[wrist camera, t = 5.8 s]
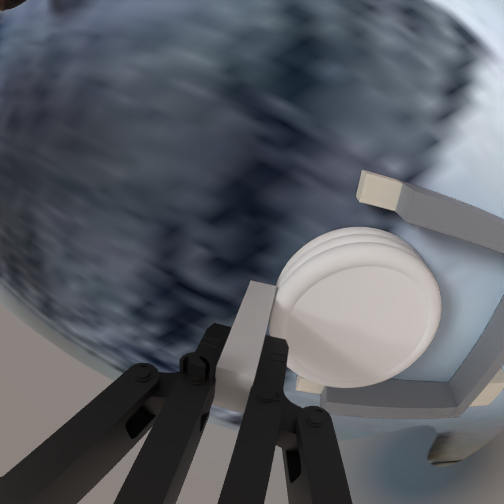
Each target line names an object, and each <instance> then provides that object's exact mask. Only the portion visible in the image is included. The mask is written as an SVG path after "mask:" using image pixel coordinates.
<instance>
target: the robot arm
mask: <svg viewBox="0 0 504 504" xmlns="http://www.w3.org/2000/svg"><path fill="white" fill-rule="evenodd" d="M276 287H277V286H274V285H269V284H265V283H260V282H256V281H250V284H249V286H248V289H247V291H246V294H245V296H244V299H243V301H242V304H241V306H240V309H239V311H238V314H237V316H236V319H235V321H234V324H233V326H232V327H228V326H224V325H220V324H216V323H214V324H213V325H211V326H210V327H209V328H207V330H206V332H205V334H204V336H203V338H202V340H201V342H200V344H199V346H198V348H197V350H196V352H193V353H188V354H186V355H183V356H182V357H181V359H180V372H176V373H165V372H158V370H157V368H155V367H154V366H153V365H151V364H148V363H138V364H135V365H133V366H132V367H130V368H129V369H128V370H127V371H126V372H124V373H123V374H122V375H121V376H120V377H119V378H118V379H116V380H115V381H114V382H113V383H112V384H111V385H110V386H108V387H107V388H106V389H105V390H104V391H102V392H101V393H100V394H99V395H98V396H97V397H96V398H94V399H93V400H92V401H91V402H90V403H89V404H88V405H86V406H85V407H84V408H83V409H82V410H80V411H79V412H78V413H77V414H76V415H75V416H73V417H72V418H71V419H70V420H69V421H68V422H66V423H65V424H64V425H63V426H62V427H61V428H59V429H58V430H57V431H56V432H55V433H54V434H52V435H51V436H50V437H49V438H48V439H47V440H45V441H44V442H43V443H42V444H41V445H39V446H38V447H37V448H36V449H35V450H34V451H32V452H31V453H30V454H29V455H28V456H27V457H25V458H24V459H23V460H22V461H21V462H20V463H18V464H17V465H16V466H15V467H13V468H12V469H11V470H10V471H9V472H8V473H7V474H5V475H4V476H3V477H0V504H77V503H78V502H79V501H80V500H81V499H82V498H83V497H84V496H85V495H86V494H87V493H88V492H89V491H90V490H91V489H92V488H93V487H94V486H95V485H96V484H97V483H98V482H99V481H100V480H101V479H102V478H103V477H104V476H105V475H106V474H107V473H108V472H109V471H110V470H111V469H112V468H113V467H114V466H115V465H116V464H117V463H118V462H119V461H120V460H121V459H122V458H123V457H124V456H125V455H126V454H127V453H128V452H129V451H130V449H132V448H133V447H134V445H135V444H136V443H137V442H138V441H139V440H140V439H141V438H142V437H143V436H144V435H145V434H146V433H147V431H149V430H150V428H151V427H152V429H151V431H150V432H149V434H148V436H147V438H146V440H145V442H144V444H143V446H142V448H141V450H140V452H139V454H138V456H137V458H136V460H135V462H134V464H133V466H132V468H131V470H130V472H129V474H128V476H127V478H126V480H125V482H124V484H123V486H122V488H121V490H120V492H119V494H118V496H117V498H116V500H115V502H114V504H176V501H177V499H178V496H179V494H180V491H181V488H182V486H183V483H184V481H185V478H186V476H187V473H188V470H189V468H190V465H191V462H192V460H193V457H194V454H195V452H196V449H197V447H198V444H199V441H200V439H201V436H202V433H203V431H204V428H205V425H206V423H207V420H208V418H209V413H210V408H211V405H212V402H213V405H215V406H218V407H222V408H226V409H229V410H233V411H237V412H241V413H244V415H243V419H242V423H241V426H240V430H239V433H238V437H237V440H236V444H235V447H234V451H233V454H232V458H231V461H230V464H229V468H228V471H227V475H226V478H225V481H224V484H223V488H222V491H221V494H220V497H219V500H218V504H264V500H265V496H266V491H267V487H268V481H269V477H270V472H271V466H272V462H273V457H274V451H275V446H276V445H277V446H279V447H281V448H282V452H283V460H284V468H285V476H286V484H287V492H288V500H289V504H352V500H351V496H350V491H349V487H348V483H347V479H346V474H345V470H344V467H343V462H342V458H341V454H340V450H339V446H338V442H337V438H336V434H335V431H334V427H333V423H332V419H331V417H330V415H329V413H328V412H327V411H326V410H325V409H323V408H321V407H319V406H308V407H305V408H301V407H299V406H297V405H295V404H293V403H292V402H290V401H289V400H288V399H287V398H286V396H285V394H284V391H283V386H284V379H285V373H286V366H287V359H288V351H289V346H288V344H287V341H286V339H282V338H277V337H272V336H268V335H265V334H266V330H267V326H268V322H269V317H270V313H271V309H272V304H273V300H274V296H275V291H276Z"/></svg>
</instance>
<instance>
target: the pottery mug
mask: <svg viewBox="0 0 504 504" xmlns="http://www.w3.org/2000/svg"><path fill="white" fill-rule="evenodd" d="M25 1H26V0H0V10H1V11H4V10H7V9H12V8H14V7H16V6H18V5H20V4H22V3H23V2H25Z"/></svg>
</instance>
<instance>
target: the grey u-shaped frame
mask: <svg viewBox="0 0 504 504" xmlns="http://www.w3.org/2000/svg"><path fill="white" fill-rule="evenodd" d="M356 197H357V199H358V200H359V202H362V203H366V204H370V205H374V206H378V207H381V208H385V209H389V210H392V211H395V212H396V213H397V214H398V215H399V216H400V217H401V218H402V219H403V220H404V221H405V222H406V223H410V224H413V225H417V226H420V227H424V228H427V229H430V230H434V231H437V232H440V233H444V234H447V235H450V236H453V237H456V238H459V239H463V240H466V241H469V242H472V243H475V244H478V245H480V246H483V247H486V248H489V249H492V250H495V251H498V252H500V253H503V254H504V219H502V218H500V217H497V216H495V215H493V214H491V213H488V212H486V211H484V210H481V209H479V208H476V207H474V206H471V205H469V204H466V203H464V202H461V201H459V200H456V199H453V198H451V197H448V196H445V195H442V194H440V193H437V192H434V191H431V190H428V189H425V188H422V187H419V186H416V185H413V184H410V183H407V182H403V181H400V180H397V179H393V178H390V177H387V176H383V175H380V174H376V173H372V172H369V171H365V170H362V172H361V176H360V181H359V185H358V189H357V194H356ZM503 364H504V295H503V297H502V299H501V301H500V303H499V305H498V307H497V309H496V310H495V312H494V314H493V316H492V318H491V319H490V321H489V323H488V325H487V326H486V328H485V330H484V331H483V333H482V335H481V336H480V338H479V340H478V341H477V343H476V344H475V346H474V347H473V349H472V350H471V352H470V353H469V355H468V356H467V358H466V359H465V361H464V362H463V363H462V365H461V366H460V368H459V369H458V370H457V372H456V373H455V374H454V376H453V377H452V378H451V380H450V381H449V382H426V381H409V380H396V379H387V380H385V381H382V382H379V383H376V384H373V385H368V386H363V387H355V388H338V387H330V386H325V385H321V384H318V383H314V382H312V381H309V380H307V379H305V378H303V377H301V376H299V375H298V377H297V381H296V390H297V391H303V392H309V393H316V394H321V397H320V407H321V408H323V409H325V410H326V411H327V412H328V413H329V414H335V415H345V416H356V417H370V418H392V419H430V418H451V417H459V416H460V415H461V414H462V413H463V412H464V411H465V410H466V409H467V408H468V407H472V406H483V405H489V404H490V403H491V402H492V401H493V400H494V399H495V398H496V396H497V395H498V394H499V393H500V392H501V391H502V389H503V388H504V373H503V371H502V369H501V367H502V365H503Z"/></svg>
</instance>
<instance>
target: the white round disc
mask: <svg viewBox="0 0 504 504" xmlns="http://www.w3.org/2000/svg"><path fill="white" fill-rule="evenodd" d="M276 286H277V287H276V291H275V296H274V300H273V304H272V309H271V313H270V317H269V332H270V336H272V337H277V338H282V339H286V341H287V344H288V346H289V351H288V359H287V367H288V368H289V369H291V370H292V371H293V372H295V373H296V374H298V375H299V376H301V377H303V378H305V379H307V380H309V381H312V382H314V383H318V384H321V385H325V386H330V387H338V388H355V387H363V386H368V385H373V384H376V383H379V382H382V381H385V380H387V379H389V378H391V377H393V376H395V375H397V374H399V373H400V372H402V371H404V370H405V369H406V368H408V367H409V366H410V365H412V364H413V363H414V362H415V361H416V360H417V359H418V358H419V357H420V356H421V355H422V354H423V353H424V351H425V350H426V349H427V347H428V346H429V345H430V343H431V342H432V340H433V338H434V336H435V334H436V332H437V329H438V326H439V323H440V319H441V310H442V304H441V295H440V290H439V286H438V284H437V282H436V279H435V277H434V276H433V274H432V273H431V271H430V270H429V268H428V267H427V266H426V264H425V263H424V261H423V260H422V259H421V257H420V256H419V255H418V253H417V252H416V251H415V250H414V249H413V248H412V247H411V246H410V245H409V244H408V243H407V242H406V241H404V240H403V239H401V238H400V237H398V236H396V235H394V234H392V233H389V232H386V231H383V230H380V229H376V228H370V227H349V228H342V229H338V230H333V231H330V232H328V233H325V234H323V235H320V236H319V237H317V238H315V239H313V240H311V241H310V242H309V243H307V244H306V245H304V246H303V247H302V248H301V249H300V250H299V251H297V252H296V253H295V254H294V255H293V256H292V258H291V259H290V260H289V261H288V262H287V264H286V265H285V267H284V269H283V270H282V272H281V274H280V276H279V279H278V281H277V285H276Z"/></svg>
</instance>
